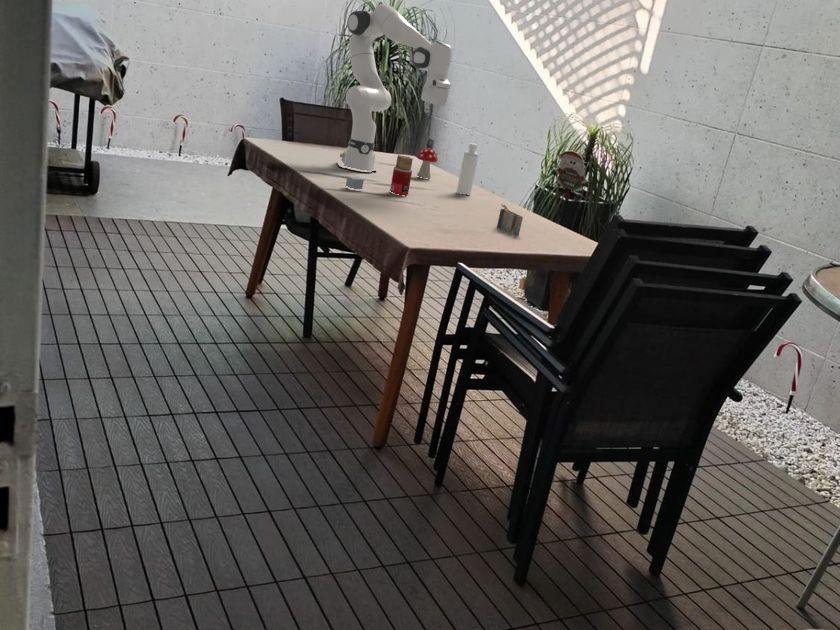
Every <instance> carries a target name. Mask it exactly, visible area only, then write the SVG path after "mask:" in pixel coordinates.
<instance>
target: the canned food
mask: <svg viewBox="0 0 840 630" xmlns="http://www.w3.org/2000/svg"><path fill="white" fill-rule="evenodd" d="M412 176H413V170H412V169H411V171H410V170H402V169H399V168H397V167H396V166H394V167H393V171H392V176H391V177H392V178H391V182H390V189H389V191H391V192H393V193H395V194H399V195H407V196H408V195H409V191H410V185H411V180H412ZM395 194H394V195H395ZM399 195H398V196H399Z"/></svg>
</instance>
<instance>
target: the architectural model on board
mask: <svg viewBox="0 0 840 630" xmlns="http://www.w3.org/2000/svg"><path fill="white" fill-rule="evenodd" d="M501 207H503V208H500V211H499V215H498V218H497V219H498V220H497V223H496V224H497V225H496V228H499V229H501V230H503V231H505V232H507V233H509V234H511V235H515V236H519V235H520V231H521V227H522V222H523V218H524V217H523V216H522V215H520V214H518V213H515V212H513V211H511V210H509V209H508V207H507V205H505V204H502V203H501Z"/></svg>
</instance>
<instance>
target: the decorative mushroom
mask: <svg viewBox="0 0 840 630" xmlns="http://www.w3.org/2000/svg"><path fill="white" fill-rule="evenodd" d="M417 159H418V160H420V161H422V163H421V166H420V168H419V170H418V172H417V174H416V176H419V177H422V178H428V179H430V180H431V178H432V177H431V163H437V162H438V157H437V153H436V152H435V150H434V149H432V148H429V147H425V148H422V149H421V150H420V151H419V152H418V154H417Z"/></svg>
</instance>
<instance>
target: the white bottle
mask: <svg viewBox="0 0 840 630" xmlns="http://www.w3.org/2000/svg"><path fill="white" fill-rule="evenodd" d="M468 145H469V146H468V150H466V151H465V152H463V158H462V163H461V166H460V167H461V168H460V173H459V178H458V182H457V188H456V192H457V193H456V194H458V193H461V194H467V195H470V194H471V193H472V190H473V189H472V188H473V184H474V180H475V175H476V170H477V165H478V160H479V154H478V152H476V150H477V147H478V144H477V143H472V142H469V144H468ZM461 194H460V195H461ZM470 196H471V195H470Z"/></svg>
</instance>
